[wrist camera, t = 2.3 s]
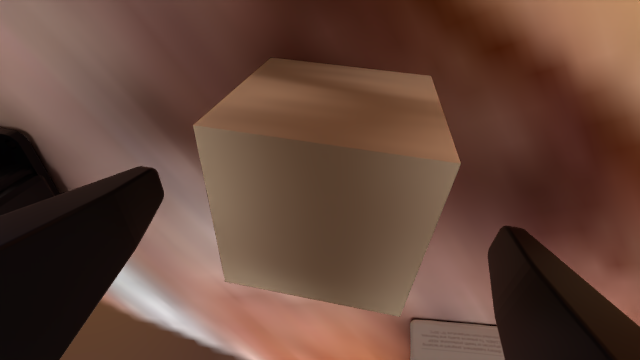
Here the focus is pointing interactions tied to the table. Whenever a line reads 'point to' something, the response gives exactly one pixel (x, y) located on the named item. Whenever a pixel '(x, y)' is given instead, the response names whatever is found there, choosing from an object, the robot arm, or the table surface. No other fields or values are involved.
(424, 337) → the supplement box
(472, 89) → the table surface
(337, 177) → the beech block
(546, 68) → the table surface
